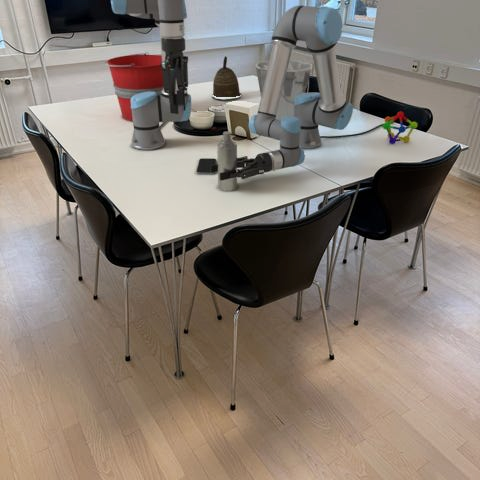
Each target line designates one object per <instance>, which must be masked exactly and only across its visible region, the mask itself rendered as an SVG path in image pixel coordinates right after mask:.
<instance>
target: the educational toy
mask: <svg viewBox="0 0 480 480" xmlns="http://www.w3.org/2000/svg"><path fill="white" fill-rule="evenodd" d="M397 119H399V124H400V125H399V127H398V126H393V125H391V124H393V123H392V122H394V123H395V121H396V120H397ZM403 120H404V121H405V122H407V123H408V124H409V125H407V126H404V123H403ZM383 123H384V124H383ZM383 123H382V124H383V126H382V129H383V130H386V132H387V138H388V142H389V145H395V144H396V143H397V142H402V141H403V142H404V143H409V142H410V140H411V138H410V136H411V134H412V132H413V131H414V130H415V129H417V127H418V122H417V121H411V120H410V119H409V118H408V117H406V116H405V113H404V112H403V111H401V110H400V111H398V112H397V114H396V115H394V116H391V117H390V116H386V117H385V118H384V122H383ZM392 129H393V130H397V131H398V132H396V134H395V133H394V132H392ZM408 129H409V131H408V133H407V134H406V135H404V136H401V134H403V133H405V132H406V130H408ZM399 135H400V136H399Z"/></svg>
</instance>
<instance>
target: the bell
mask: <svg viewBox="0 0 480 480" xmlns="http://www.w3.org/2000/svg"><path fill="white" fill-rule="evenodd" d="M227 63H228V57H227V56H224V58H223V63H222V67H221V68H219V69H218V70H217V71H216V73H215V75H214V78H213V81H212V83H213V84H212V95H214V96H216V97H236V96H240V95H241V96H242V93H241V92H240V83H239V80H238V79H239V78H238V77H237V75H236V73H235V72H234V70H232V69H231V68H230V67H227Z"/></svg>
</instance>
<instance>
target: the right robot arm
mask: <svg viewBox="0 0 480 480" xmlns="http://www.w3.org/2000/svg"><path fill="white" fill-rule="evenodd" d="M342 29H343V19H342V15H341V13H340V12H339V11H338V10H337V9H336V8H334V7H328V6H312V5H311V6H309V5H302V4H301V5H295V6H292V7H290V8H289V9H287V10H286V11H285V12H284V13H283V14H282V16H281V17H280V18H279V19H278V21H277V23H276V25H275V27H274V29H273V32H272V36H271V41H270V43H271V45H272V48H271V52H270V56H269V60H268V61H269V65H268V69H267V74H266V78H265V83H264V87H263V92H262V96H261V95H260V101H259V107H258V108H257V113H256V114H253V115H252V116H251V117H250V119H249V121H248V129H249V132H251V134H253V135H258V136H260V137H265V138H269V139H272V140H275V141H279V149H276V150H271V151H270V150H269V151H266V152H260V153H258V154H256V155H255V157H254V158H248V156H247V155H244V156H240V157H237V170H232V171H227V172H222V173H220V181H222V180H226V179H231V178H235V177H237V179H238V178H239V179H241V180H245V179H248V178H249V179H250V178H251V177H256V176H259V175H264V174H266V173H269V172H275V171H279V170H282V169H287V168H294V167H296V166H300V165H302V164H303V163H304V162H305V159H306V155H305V150H311V149H316V148H319V147H321V144H322V139H337V138H338V139H340V138H348V137H349V138H350V137H356V136H362V135H365V134H368V133H370V132H373V131H374V130H376V129H378V128H381V127H383V124H384V123H385V122H383V123H380V124H379V125H377V126H374V127H373V128H370V129H368V130H366V131H362V132H359V133H353V134H352V133H351V134H342V135H320V130H319V126H321V127H324V128H329V129H331V130H339V131H341V130H344V129H346V127H347V126H348V125H349V123H350V121H351V119H352V116H353V114H354V113H353V112H354V105H353V104H352V103H351V102H347V97H346V95H345V93H343V92H342V88H341V81H340V74H339V67H338V61H337V55H336V48H335V47H336V46H337V44H338V42H339V40H340V39H341V38H342V37H341V36H342V34H343V30H342ZM298 41H299V42H300V41H301V42H305V46H306V49H307V51H308V52H309V53H310V54H311V55H312V60H313V65H314V70H315V75H316V81H317V87H318V91H319V92H314V91H313V92H308V93H307V92H305V93H303V94H299V95H297V96H296V98H295V104H294V117H291V116H287V117H284V118H282V120H277V119H276V114H277V110H278V106H279V102H280V97H281V93H282V89H283V85H284V81H285V77H286V73H287V69H288V64H289V60H291V56H292V51H293V50H294V49H295V48H296V47H297V43H298ZM394 123H395V121H394V122H392V123H391V124H394ZM210 172H211V173H213V174H215V173H218V163H216V165H211V166H210Z"/></svg>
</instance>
